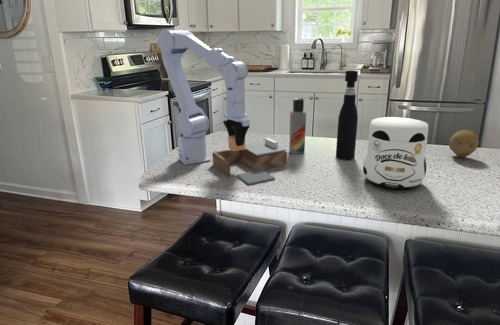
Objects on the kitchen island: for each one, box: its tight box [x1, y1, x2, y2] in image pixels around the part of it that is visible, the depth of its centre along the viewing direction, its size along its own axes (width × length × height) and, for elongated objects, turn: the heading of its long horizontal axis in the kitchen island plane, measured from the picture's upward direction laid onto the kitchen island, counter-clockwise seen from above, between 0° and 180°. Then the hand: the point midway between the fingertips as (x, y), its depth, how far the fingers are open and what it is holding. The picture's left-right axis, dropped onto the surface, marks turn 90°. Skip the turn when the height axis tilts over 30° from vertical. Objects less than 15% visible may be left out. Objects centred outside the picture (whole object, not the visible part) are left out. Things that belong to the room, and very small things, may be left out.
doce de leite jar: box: [362, 116, 429, 190], centre depth 107 cm, size 17×17×18 cm
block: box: [227, 135, 246, 151], centre depth 119 cm, size 4×4×4 cm
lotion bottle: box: [288, 97, 307, 155], centre depth 135 cm, size 6×6×20 cm
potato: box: [448, 129, 480, 159], centre depth 129 cm, size 9×9×10 cm
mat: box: [236, 169, 276, 186], centre depth 114 cm, size 9×8×1 cm
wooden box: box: [211, 148, 288, 177], centre depth 125 cm, size 22×12×4 cm, turn 118°
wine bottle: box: [335, 70, 359, 161], centre depth 127 cm, size 6×6×30 cm
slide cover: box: [245, 137, 287, 156], centre depth 126 cm, size 11×12×3 cm
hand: (236, 143), depth 119 cm, fingers closed on block, 4 cm apart
